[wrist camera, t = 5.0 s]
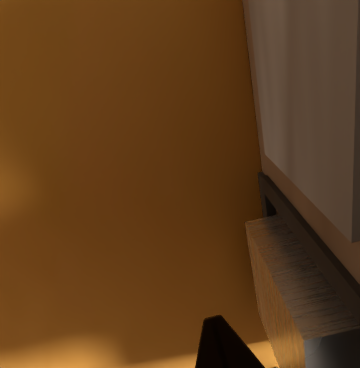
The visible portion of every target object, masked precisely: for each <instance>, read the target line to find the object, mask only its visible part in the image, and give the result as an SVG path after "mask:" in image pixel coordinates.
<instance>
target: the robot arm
mask: <svg viewBox="0 0 360 368" xmlns="http://www.w3.org/2000/svg"><path fill="white" fill-rule="evenodd" d="M195 368H265V367H264V366H263V365H262V363H261V362H260V361H259V360H258V359H257V357H256V356H255V355H254V354H253V353H252V351H251V350H250V349H249V348H248V347H247V345H246V344H245V343H244V342H243V341H242V339H241V338H240V337H239V336H238V335H237V333H236V332H235V331H234V330H233V328H232V327H231V326H230V325H229V324H228V322H227V321H226V320H225V319H224V318H223V317H222V316H221V315H216V316H212V317H208V318H205V319H204V321H203V326H202V331H201V337H200V343H199V348H198V354H197V360H196V366H195Z"/></svg>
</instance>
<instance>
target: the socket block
mask: <svg viewBox="0 0 360 368" xmlns="http://www.w3.org/2000/svg"><path fill="white" fill-rule="evenodd" d="M242 1H243V10H244V18H245V27H246V35H247V44H248V53H249V61H250V70H251V78H252V87H253V96H254V104H255V113H256V121H257V130H258V138H259V147H260V156H261V164H262V172H258V179H259V187H260V196H261V204H262V212H263V217H268V216H272V215H276V214H280V216H281V217H282V218H283V220H284V221H285V223H286V224H287V225H288V227H289V228H290V230H291V231H292V232H293V234H294V235H295V236H296V238H297V239H298V241H299V242H300V243H301V245H302V246H303V248H304V249H305V250H306V252H307V253H308V254H309V256H310V257H311V259H312V260H313V261H314V263H315V264H316V266H317V267H318V268H319V270H320V271H321V272H322V274H323V275H324V277H325V278H326V279H327V281H328V282H329V284H330V285H331V286H332V288H333V289H334V290H335V292H336V293H337V295H338V296H339V297H340V299H341V300H342V302H343V303H344V304H345V306H346V307H347V308H348V310H349V311H350V313H351V314H352V315H353V317H354V318H355V320H356V321H357V322H358V324H359V325H360V0H242Z"/></svg>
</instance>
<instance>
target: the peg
mask: <svg viewBox="0 0 360 368" xmlns="http://www.w3.org/2000/svg"><path fill="white" fill-rule="evenodd" d="M245 229H246V235H247V241H248V248H249V254H250V260H251V267H252V273H253V279H254V286H255V292H256V299H257V305H258V311H259V316H260V318H261V321H262V323H263V326H264V329H265V331H266V334H267V336H268V339H269V342H270V344H271V347H272V349H273V352H274V355H275V357H276V360H277V362H278V365H279V368H360V325H359V324H358V322H357V321H356V320H355V318H354V317H353V315H352V314H351V313H350V311H349V310H348V308H347V307H346V306H345V304H344V303H343V302H342V300H341V299H340V297H339V296H338V295H337V293H336V292H335V290H334V289H333V288H332V286H331V285H330V284H329V282H328V281H327V279H326V278H325V277H324V275H323V274H322V272H321V271H320V270H319V268H318V267H317V266H316V264H315V263H314V261H313V260H312V259H311V257H310V256H309V254H308V253H307V252H306V250H305V249H304V248H303V246H302V245H301V243H300V242H299V241H298V239H297V238H296V236H295V235H294V234H293V232H292V231H291V230H290V228H289V227H288V225H287V224H286V223H285V221H284V220H283V218H282V217H281V216H280V214H276V215H272V216H268V217H263V218H259V219H255V220H251V221H246V222H245Z"/></svg>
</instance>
